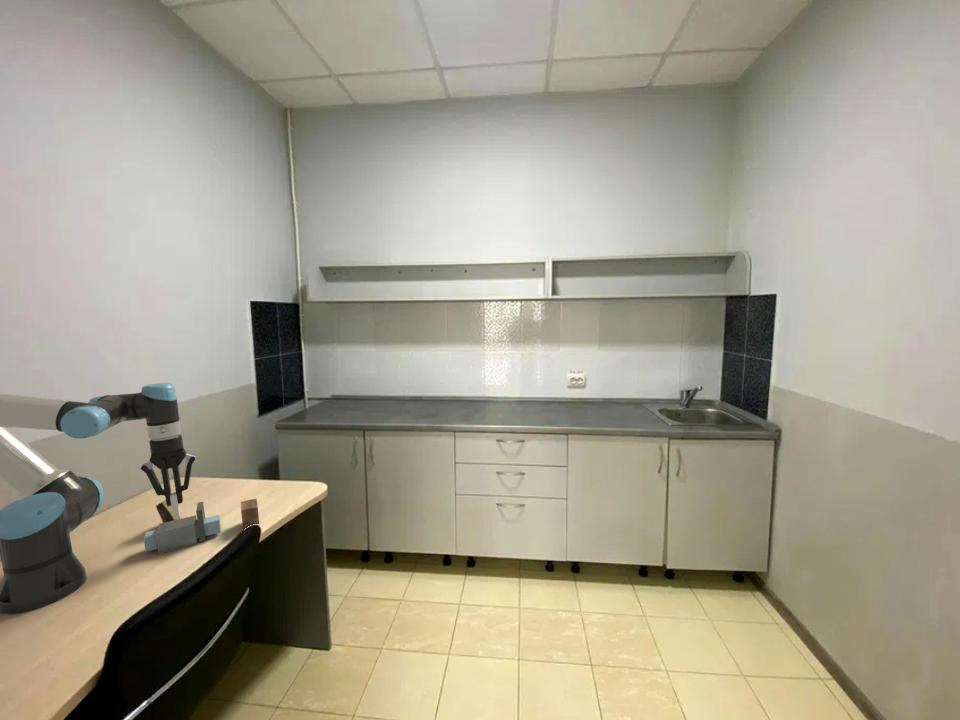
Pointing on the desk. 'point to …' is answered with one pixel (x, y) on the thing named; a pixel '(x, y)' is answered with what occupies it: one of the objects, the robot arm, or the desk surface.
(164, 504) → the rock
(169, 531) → the sleeve
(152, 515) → the desk surface
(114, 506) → the desk surface
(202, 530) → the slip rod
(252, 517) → the socket block
